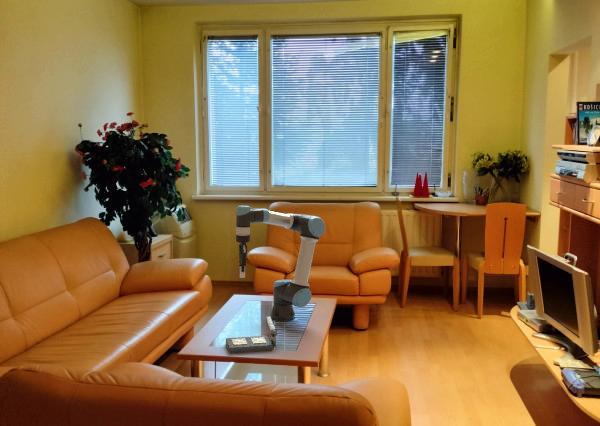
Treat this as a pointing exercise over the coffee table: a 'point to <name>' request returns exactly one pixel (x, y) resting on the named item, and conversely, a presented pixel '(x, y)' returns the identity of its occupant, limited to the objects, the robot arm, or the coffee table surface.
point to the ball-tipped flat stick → (271, 327)
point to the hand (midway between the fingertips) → (242, 277)
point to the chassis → (250, 344)
